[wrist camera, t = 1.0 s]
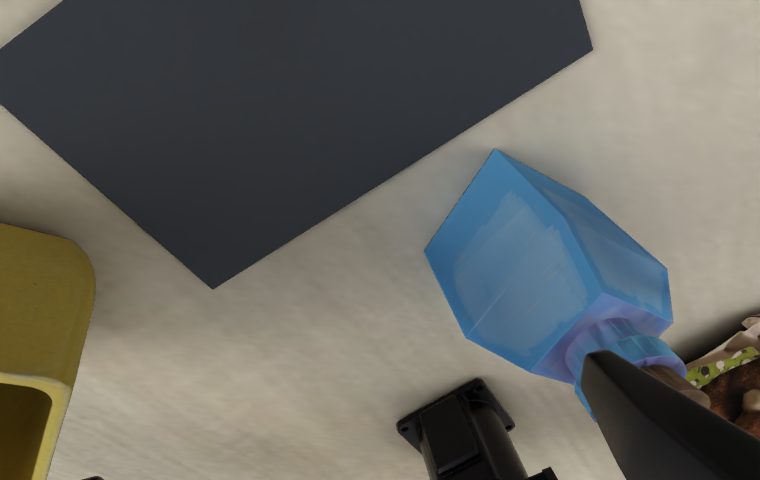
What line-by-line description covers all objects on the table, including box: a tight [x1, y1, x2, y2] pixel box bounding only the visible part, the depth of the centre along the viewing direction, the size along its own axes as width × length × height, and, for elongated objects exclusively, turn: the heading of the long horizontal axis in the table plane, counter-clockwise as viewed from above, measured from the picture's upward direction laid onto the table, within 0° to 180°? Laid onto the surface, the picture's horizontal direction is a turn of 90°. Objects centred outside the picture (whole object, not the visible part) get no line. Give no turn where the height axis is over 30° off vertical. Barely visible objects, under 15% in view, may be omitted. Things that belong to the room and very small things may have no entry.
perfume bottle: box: [424, 149, 711, 422], centre depth 20 cm, size 6×6×12 cm
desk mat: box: [0, 0, 593, 289], centre depth 19 cm, size 12×20×1 cm, turn 121°
